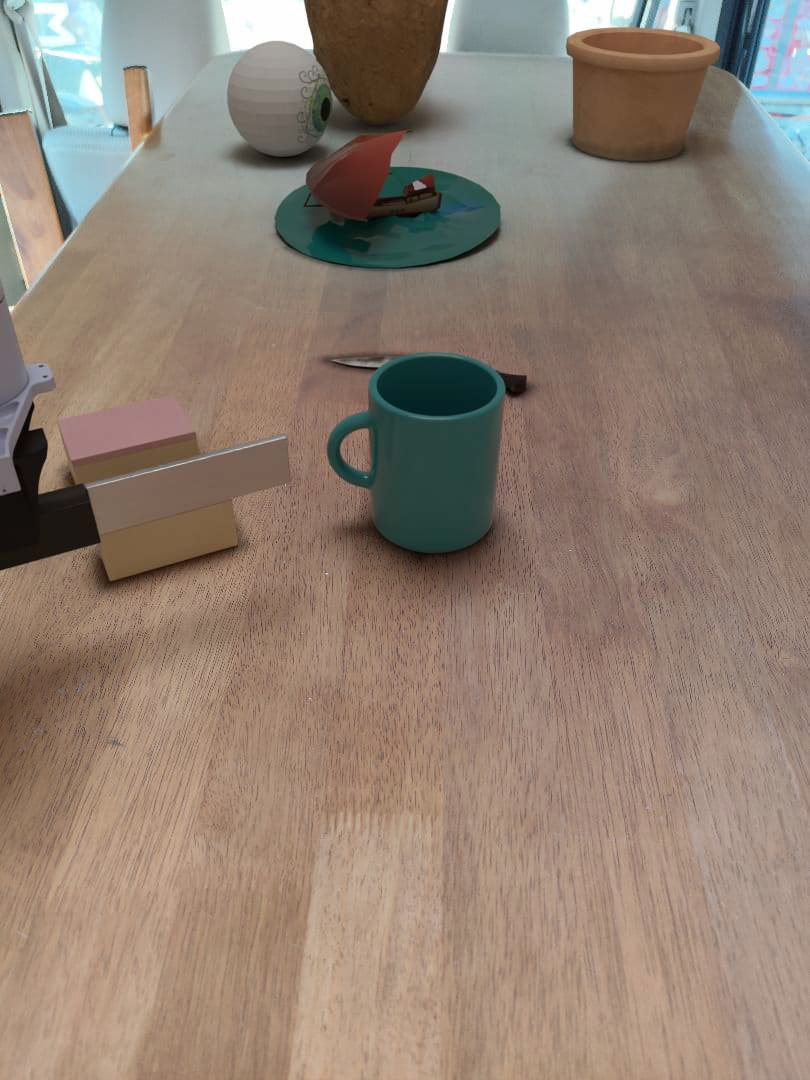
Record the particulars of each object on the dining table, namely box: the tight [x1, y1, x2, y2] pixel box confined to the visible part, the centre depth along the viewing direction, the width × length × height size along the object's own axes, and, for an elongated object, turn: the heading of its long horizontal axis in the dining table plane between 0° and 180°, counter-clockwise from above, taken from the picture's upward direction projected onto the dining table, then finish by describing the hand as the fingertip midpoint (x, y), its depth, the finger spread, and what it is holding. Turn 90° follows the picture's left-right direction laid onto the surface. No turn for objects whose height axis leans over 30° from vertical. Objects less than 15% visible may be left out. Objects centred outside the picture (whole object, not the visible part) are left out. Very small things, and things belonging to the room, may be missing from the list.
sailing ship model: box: [274, 129, 502, 269], centre depth 109 cm, size 28×28×11 cm
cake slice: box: [97, 498, 239, 582], centre depth 62 cm, size 9×3×5 cm, turn 116°
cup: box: [326, 351, 507, 554], centre depth 63 cm, size 9×12×11 cm
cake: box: [56, 394, 200, 487], centre depth 69 cm, size 9×6×5 cm, turn 116°
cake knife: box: [0, 433, 292, 572], centre depth 52 cm, size 20×2×3 cm, turn 117°
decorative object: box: [226, 40, 333, 158], centre depth 129 cm, size 15×15×15 cm
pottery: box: [565, 26, 721, 162], centre depth 135 cm, size 22×22×14 cm
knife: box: [330, 355, 528, 394], centre depth 83 cm, size 18×1×5 cm
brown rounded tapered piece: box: [303, 0, 449, 126], centre depth 139 cm, size 22×22×25 cm
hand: (16, 532), depth 50 cm, fingers closed on cake knife, 2 cm apart
